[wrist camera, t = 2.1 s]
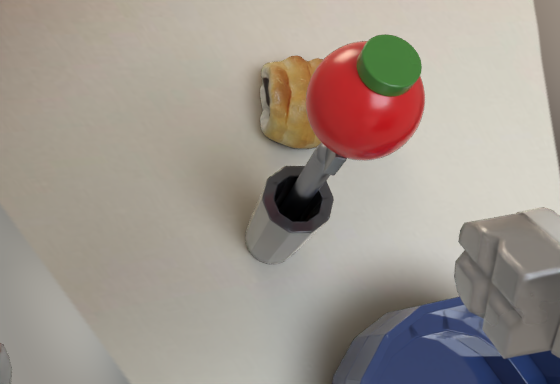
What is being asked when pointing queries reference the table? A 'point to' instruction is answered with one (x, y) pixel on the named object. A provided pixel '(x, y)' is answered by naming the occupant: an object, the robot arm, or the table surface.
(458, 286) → the robot arm
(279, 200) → the cup
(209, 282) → the table surface
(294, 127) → the pastry
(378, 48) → the baster
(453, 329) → the bowl
